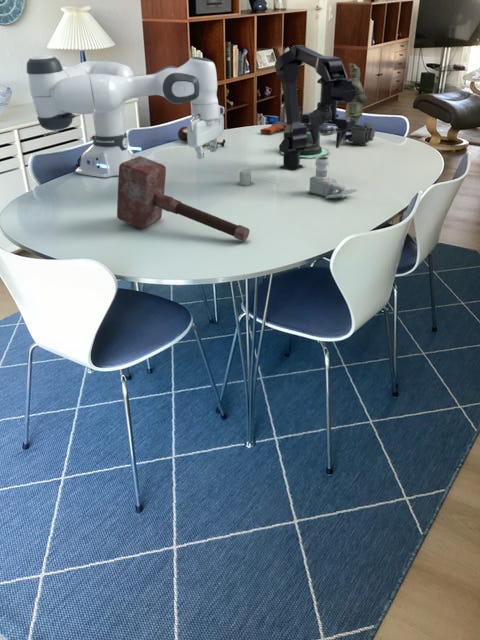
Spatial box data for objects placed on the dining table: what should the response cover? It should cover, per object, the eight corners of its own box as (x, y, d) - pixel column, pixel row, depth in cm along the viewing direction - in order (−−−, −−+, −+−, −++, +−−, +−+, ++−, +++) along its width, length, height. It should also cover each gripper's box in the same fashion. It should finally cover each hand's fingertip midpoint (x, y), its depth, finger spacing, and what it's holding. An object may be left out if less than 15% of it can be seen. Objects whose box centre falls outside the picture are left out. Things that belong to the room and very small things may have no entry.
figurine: (211, 139, 238) (170, 125, 250) (210, 157, 242) (170, 142, 255) (230, 134, 247) (190, 120, 259) (229, 150, 251) (189, 136, 263)
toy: (345, 120, 249) (377, 123, 242) (343, 139, 253) (375, 143, 246) (337, 123, 243) (369, 127, 236) (336, 143, 247) (367, 147, 240)
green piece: (332, 145, 241) (326, 158, 224) (294, 164, 249) (286, 177, 233) (317, 113, 235) (310, 124, 219) (279, 133, 244) (269, 145, 228)
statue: (367, 132, 266) (374, 63, 251) (349, 133, 264) (355, 64, 249) (357, 127, 275) (362, 61, 260) (339, 129, 273) (344, 62, 258)
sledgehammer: (260, 200, 149) (138, 154, 161) (243, 211, 142) (117, 162, 153) (248, 256, 159) (134, 209, 171) (232, 269, 152) (114, 219, 163)
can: (238, 185, 197) (238, 172, 195) (240, 181, 200) (240, 169, 198) (250, 185, 196) (250, 172, 194) (252, 182, 200) (251, 169, 197)
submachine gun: (254, 130, 262) (277, 120, 281) (254, 136, 263) (277, 126, 282) (316, 136, 248) (336, 125, 267) (316, 142, 250) (336, 131, 268)
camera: (321, 153, 186) (360, 161, 177) (319, 188, 192) (356, 197, 183) (306, 158, 180) (345, 167, 171) (304, 194, 186) (342, 204, 177)
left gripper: (198, 118, 171) (201, 163, 178) (226, 107, 187) (227, 148, 194) (181, 117, 173) (184, 161, 180) (209, 106, 189) (211, 147, 196)
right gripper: (292, 99, 187) (290, 146, 195) (339, 104, 176) (336, 154, 184) (311, 95, 194) (309, 140, 202) (357, 100, 183) (353, 148, 191)
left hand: (207, 155), depth 187 cm, fingers open, 8 cm apart
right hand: (326, 146), depth 194 cm, fingers open, 9 cm apart
